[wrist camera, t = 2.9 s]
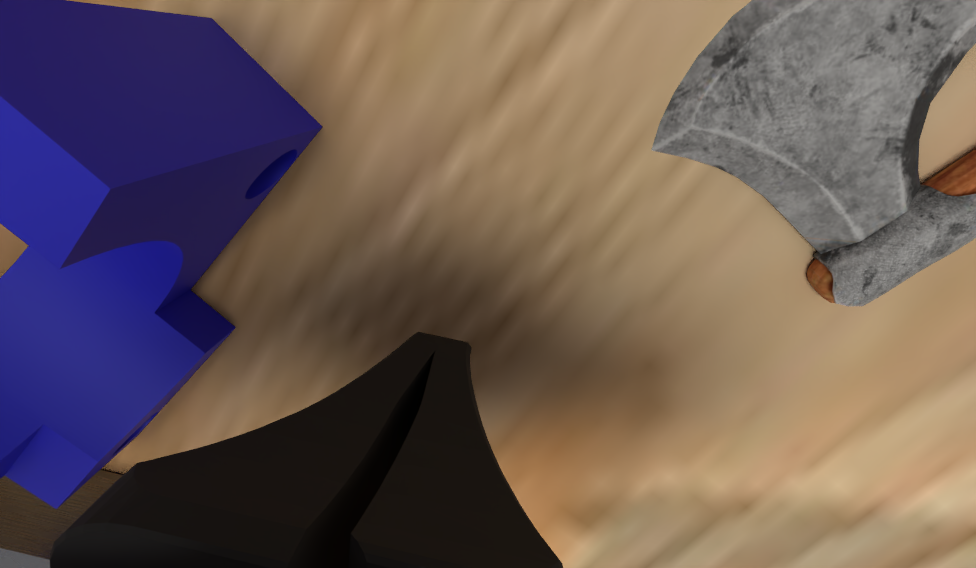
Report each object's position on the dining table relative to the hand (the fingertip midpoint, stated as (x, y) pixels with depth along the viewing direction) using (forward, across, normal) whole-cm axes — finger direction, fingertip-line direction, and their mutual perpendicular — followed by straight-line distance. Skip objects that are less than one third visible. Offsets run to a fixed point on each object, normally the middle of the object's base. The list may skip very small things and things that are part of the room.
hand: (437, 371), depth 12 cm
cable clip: (+1, +8, 0) cm, 8 cm away
